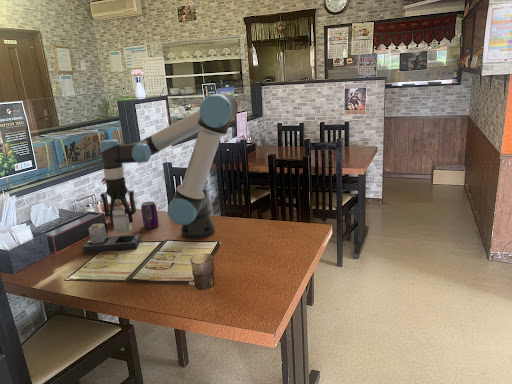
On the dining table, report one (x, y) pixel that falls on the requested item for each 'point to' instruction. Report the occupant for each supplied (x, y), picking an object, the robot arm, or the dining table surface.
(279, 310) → the dining table surface
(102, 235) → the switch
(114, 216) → the block
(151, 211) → the beverage can
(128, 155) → the robot arm
